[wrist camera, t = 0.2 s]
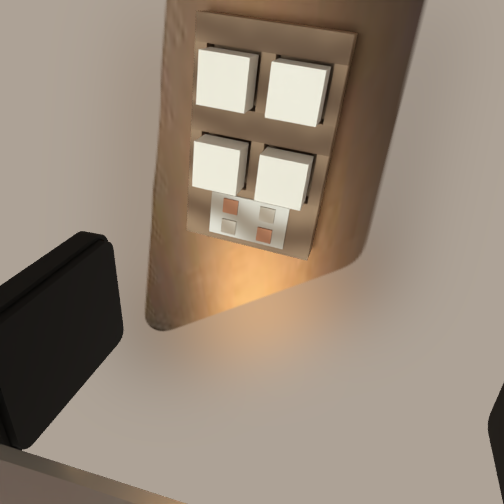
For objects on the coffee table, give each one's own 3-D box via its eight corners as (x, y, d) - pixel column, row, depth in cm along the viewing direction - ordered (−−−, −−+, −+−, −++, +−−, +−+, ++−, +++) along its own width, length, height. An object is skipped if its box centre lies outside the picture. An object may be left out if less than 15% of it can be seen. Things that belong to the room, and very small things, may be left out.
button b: (279, 57, 39) (271, 61, 36) (331, 66, 38) (326, 70, 36) (272, 111, 41) (264, 117, 39) (320, 120, 40) (315, 127, 38)
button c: (205, 134, 44) (194, 141, 42) (248, 142, 43) (240, 150, 41) (202, 177, 46) (192, 186, 44) (243, 186, 46) (235, 196, 43)
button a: (210, 46, 40) (198, 49, 38) (258, 54, 39) (249, 57, 37) (207, 99, 42) (196, 104, 40) (252, 107, 42) (244, 113, 39)
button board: (208, 10, 41) (194, 10, 38) (357, 32, 39) (354, 34, 36) (196, 219, 53) (184, 232, 50) (311, 248, 50) (306, 262, 47)
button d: (267, 146, 43) (259, 154, 41) (313, 156, 42) (308, 164, 40) (261, 190, 45) (253, 200, 43) (305, 200, 44) (299, 210, 42)
